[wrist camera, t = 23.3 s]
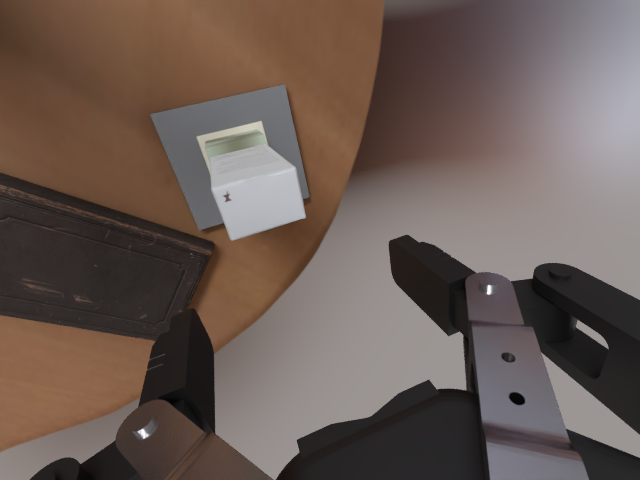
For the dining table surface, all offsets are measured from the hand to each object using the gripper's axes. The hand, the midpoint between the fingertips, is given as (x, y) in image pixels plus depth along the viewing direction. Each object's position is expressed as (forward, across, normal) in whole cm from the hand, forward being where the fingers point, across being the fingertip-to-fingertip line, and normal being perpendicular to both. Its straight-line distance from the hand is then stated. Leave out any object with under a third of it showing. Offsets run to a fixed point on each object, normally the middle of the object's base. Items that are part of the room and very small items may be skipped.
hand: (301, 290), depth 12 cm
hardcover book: (+31, +20, +8) cm, 38 cm away
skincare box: (+23, 0, 0) cm, 23 cm away
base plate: (+30, 0, 0) cm, 30 cm away
